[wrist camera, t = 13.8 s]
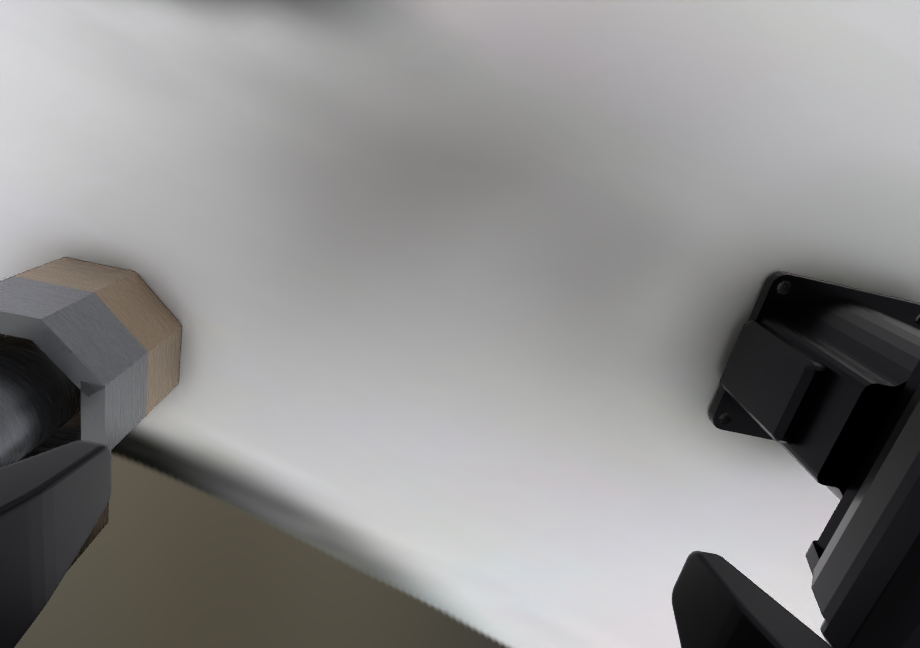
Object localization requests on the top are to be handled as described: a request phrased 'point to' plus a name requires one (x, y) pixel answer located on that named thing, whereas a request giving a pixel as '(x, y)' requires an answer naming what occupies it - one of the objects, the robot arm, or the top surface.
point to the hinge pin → (31, 398)
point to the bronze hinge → (96, 346)
